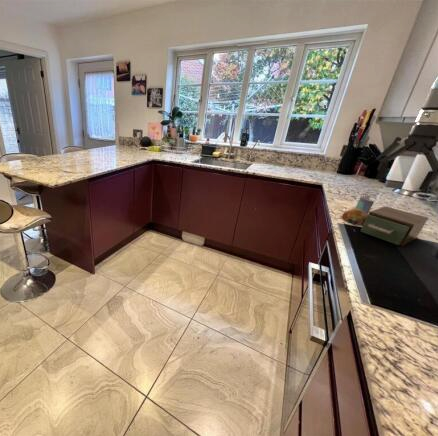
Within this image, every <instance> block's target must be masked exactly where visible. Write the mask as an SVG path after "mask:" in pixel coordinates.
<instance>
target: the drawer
mask: <svg viewBox="0 0 438 436" xmlns="http://www.w3.org/2000/svg"><path fill="white" fill-rule="evenodd" d="M409 228H410V226H409V225H405V224H402V223H399V222H395V221H392V220H389V219H385V218H382V217H379V216H375V215H373V216H372V215H368V216H367V218H366V221H365V223H364V225H362V226H361V229H360V231H359V232H361V233H363V234H366V235H369V236H372V237H373V238H377V239H379V240H383V241H385V242H389V243H391V244H394V245H397V246H401V245H400V243H401V241H402V240H403V238H404V236H405V234H406V233H407V231H408V229H409Z"/></svg>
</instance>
